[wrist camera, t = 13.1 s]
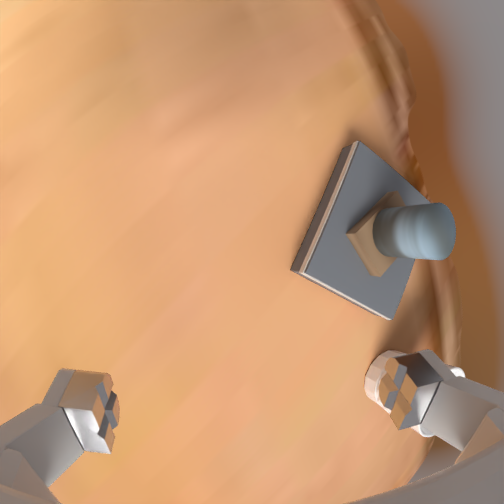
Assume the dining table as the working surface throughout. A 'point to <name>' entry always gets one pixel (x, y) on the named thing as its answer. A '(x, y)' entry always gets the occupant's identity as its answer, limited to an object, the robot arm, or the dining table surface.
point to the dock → (342, 220)
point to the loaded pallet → (402, 233)
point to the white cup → (379, 371)
